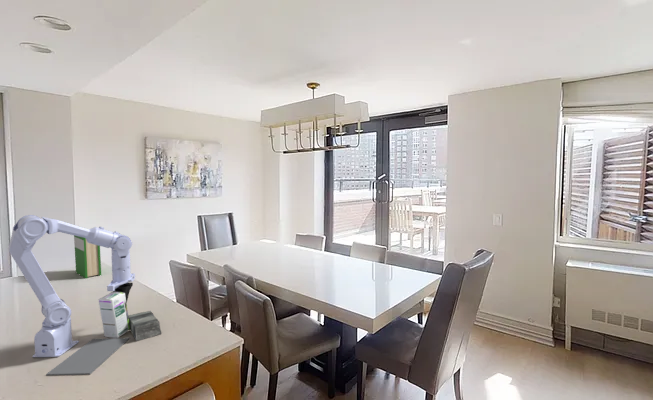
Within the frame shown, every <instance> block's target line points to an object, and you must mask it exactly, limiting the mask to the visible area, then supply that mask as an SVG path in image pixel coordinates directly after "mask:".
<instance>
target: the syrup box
mask: <svg viewBox="0 0 653 400" xmlns="http://www.w3.org/2000/svg"><path fill="white" fill-rule="evenodd" d="M98 305H99V312H100V316H101V317H100V318H101V322H102V329H103V334H104V338H105V337H106V338H121V337H122V336H123V335H125V334H126V333H127V332H129V331H130V323H129V317H128V315H129V312H128V311H129V310H128V305H127V303H126V297H125V293H123V292H113V291H110V293H108V294H105V295H104V296H102V297H100V298H98Z"/></svg>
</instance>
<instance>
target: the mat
mask: <svg viewBox="0 0 653 400" xmlns="http://www.w3.org/2000/svg"><path fill="white" fill-rule="evenodd" d="M129 340H130V337H119V338H111V337H106V338H105V337H104V338H91V340H89V341H88V342H87V343H86V344H84V345H83V346H82V347H80V348H79V349H77V350H76V351H75V352H73V353H72V354H71V355H69V356H68V357H66V359H64V360H62V361H61V362H60V363H58V364H57V365H56V366H55V367H53V368H52V369H51V370H49V372H47V373H46V374H45V375H46V376H77V375H78V376H80V375H81V376H83V375H85V374H86V375H85V376H87V374H88V375H91V374H92V373H93V372H95V371H96V370H97V369H98V368H99V367H100V366H101V365H102V364H103V363H105V362H106V360H108V359H109V358H111V356H113V355H114V353H115V352H116V351H118V350H119V349H120V348H121V347H122V346H123V345H124V344H125V343H127V342H128V341H129Z"/></svg>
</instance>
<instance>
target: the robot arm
mask: <svg viewBox="0 0 653 400" xmlns="http://www.w3.org/2000/svg"><path fill="white" fill-rule="evenodd" d="M56 233H63V234H66V235H71V236H73V237H74V236H79V237H83V238H86V240H87V242H88V243H90V244H94V245H98V246H100V247H103V248H107V249H111V272H112V273H111V275H112V276H111V277H112V280H111V281H110V283H109V284H108V285H107V286H106V287H107V289H106V290H107V291H106V292H123V293H125V297H126V304H127V302H128V298H129V295H130V292H131V289H132V287H133V282H134V281H135V279H136V273H131V270H132V269H131V254H130V253H131V252H130V251H131V250H130V249H131V248H132V245H133V241H132V240H131V238H130V237H129V236H127V235H125V234H121V233H120V232H119V231H116V230H115V231H111V230H107V229H105V227H103V226H94V227H91V228H86V227H83V226H79V225H77V224H72V223H69V222H66V221H63V220H60V219H56V218H50V217H46V216H41V218H40V217H39V216H37V215H34V214H28V215H24V216H22V217H20V218H19V219H18V220H17V222H16V223H15V224H14V226H13V227H12V233H11V236H10V241H9V243H8V248H7V249H8V252H9V253H10V255H11V257H12V259H13V260H14V262H15V264H16V265H17V267H18V269H19V270H20V272H21V274H22V275H23V276H24V279H26V281H27V283H28V285H29V287H30V289H31V290H32V292H33V293H34V295H35V296H36V298H37V299H38V301H39V302H40V304H41V314H42V315H43V316H44V320H43V321H42V323H41V324H42V326H41V328H40V329H39V331H37V332H36V333H35V335H34V338H33V340H34V354H33V355H32V358H51V357H52V358H57V357H60V356H62V355H64V353H66V352H67V351H69V350H71V349H72V348H73V347H74V346H75V345H77V344H78V343H79V342H80V340H73V334H72V333H73V332H72V331H73V330H72V319H71V318H72V317H71V316H72V309H71V308H70V306H68V305H67V304H66V302H65V300H64V299H62V298H60V297H59V295H58V294H57V292H56V290H55V289H54V286H53V285H52V284H51V282H50V280H49V278H48V277H47V274H46V273H45V271H44V270H43V268H42V267H41V265H40V263H39V261H38V260H37V258H36V256H35V255H34V253H33V251H32V249H33V247H34V246H35V245H36V243H37V241H38V240H40V239H41V238H43V236H44V235H45V234H48V235H51V234H52V235H53V234H56Z"/></svg>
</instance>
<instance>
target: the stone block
mask: <svg viewBox="0 0 653 400" xmlns="http://www.w3.org/2000/svg"><path fill="white" fill-rule="evenodd" d="M128 317H129V323H130V330H129V331H130V333H131V334H132V336H133V338H134V340H135V342H139V341H143V340H146V339H150V338H153V337H155V336H160V335H162V333H163V332H162V330H161V323H160V320H159V319H158V318H157V317H156V316H155V315H154V312H152V311H151V310H147V311H143V312H137V313H133V314H128Z"/></svg>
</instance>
